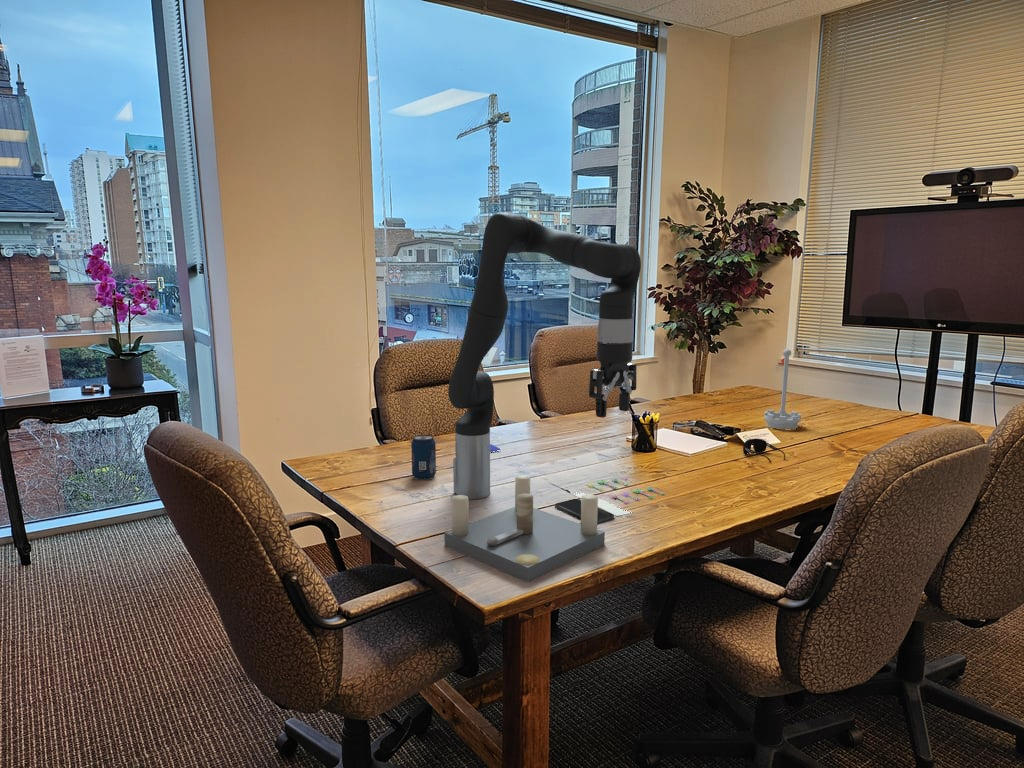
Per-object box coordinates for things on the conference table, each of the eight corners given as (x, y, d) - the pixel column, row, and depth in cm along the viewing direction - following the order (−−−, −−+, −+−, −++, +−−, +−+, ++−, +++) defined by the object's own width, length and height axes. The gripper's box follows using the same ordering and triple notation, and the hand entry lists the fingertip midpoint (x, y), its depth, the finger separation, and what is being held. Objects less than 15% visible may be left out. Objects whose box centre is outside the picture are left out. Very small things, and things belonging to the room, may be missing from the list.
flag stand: (806, 430, 253) (812, 351, 248) (771, 431, 253) (777, 351, 247) (791, 422, 266) (797, 347, 260) (758, 422, 265) (763, 347, 260)
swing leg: (494, 547, 140) (494, 511, 138) (482, 542, 142) (482, 507, 141) (536, 530, 149) (536, 496, 147) (524, 526, 151) (524, 492, 150)
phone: (591, 522, 161) (553, 503, 173) (591, 526, 161) (553, 508, 173) (616, 515, 165) (576, 498, 177) (616, 519, 165) (576, 502, 178)
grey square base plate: (444, 545, 149) (443, 497, 147) (522, 515, 167) (522, 472, 165) (527, 582, 132) (528, 528, 130) (604, 544, 150) (605, 497, 148)
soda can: (413, 473, 200) (412, 434, 198) (437, 473, 200) (436, 434, 198) (410, 480, 194) (409, 440, 191) (434, 480, 194) (434, 440, 191)
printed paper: (549, 483, 192) (549, 478, 192) (630, 470, 207) (631, 465, 207) (616, 517, 167) (616, 511, 166) (704, 499, 182) (704, 493, 181)
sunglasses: (761, 450, 226) (764, 436, 225) (789, 464, 216) (792, 450, 214) (737, 454, 222) (740, 440, 220) (765, 469, 211) (767, 454, 210)
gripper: (619, 335, 152) (617, 406, 154) (580, 340, 141) (578, 416, 144) (648, 338, 147) (645, 411, 149) (609, 343, 136) (607, 422, 139)
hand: (612, 413), depth 147 cm, fingers open, 8 cm apart
